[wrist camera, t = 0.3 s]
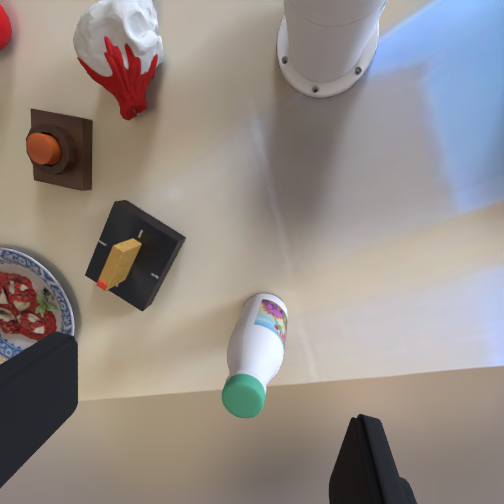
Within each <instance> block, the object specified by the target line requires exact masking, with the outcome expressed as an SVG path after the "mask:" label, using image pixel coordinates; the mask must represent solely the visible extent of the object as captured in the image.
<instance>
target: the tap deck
mask: <svg viewBox="0 0 504 504" xmlns="http://www.w3.org/2000/svg"><path fill="white" fill-rule="evenodd" d="M132 238H133V239H135V240H136V241H138V242H140V243H141V244H142V245H141V247H140V249H139V251H138V253H137V256H136V258H135V260H134V262H133V264H132V266H131V268H130V271H129V273H128V275H127V277H126V279H125V280H124V281H122V282H120V283H119V284H117V285H115V286H113V287H112V288H110V289H108V290H109V291H111V292H112V293H114V294H115V295H117V296H119V297H120V298H122V299H123V300H125V301H127V302H128V303H130V304H131V305H133V306H135V307H136V308H138V309H139V310H141V311H144V310H145V309H146V308H147V307H148V306H150V305H151V304H152V302H153V300H154V298H155V296H156V294H157V292H158V290H159V288H160V286H161V284H162V283H163V281H164V279H165V277H166V275H167V273H168V271H169V269H170V267H171V265H172V263H173V261H174V260H175V258H176V256H177V254H178V252H179V250H180V248H181V246H182V244H183V242H184V240H185V238H186V237H184V236H182V235H181V234H179V233H178V232H176V231H174V230H173V229H171V228H170V227H168V226H166V225H165V224H163V223H162V222H160V221H159V220H157V219H155V218H154V217H152V216H151V215H149V214H147V213H146V212H144V211H143V210H141V209H139V208H138V207H136V206H135V205H133V204H131V203H130V202H128V201H127V200H123V201H116V202H114V205H113V207H112V209H111V212H110V214H109V217H108V219H107V222H106V224H105V227H104V229H103V232H102V234H101V237H100V239H99V242H98V244H97V247H96V249H95V251H94V254H93V256H92V259H91V261H90V264H89V266H88V269H87V271H86V274H85V276H87V277H88V278H90V279H92V280H93V281H95V282H96V283H97V282H98V280H99V277H100V275H101V273H102V270H103V268H104V266H105V263H106V261H107V259H108V256H109V254H110V252H111V249H112V247H113V245H116V244H119V243H121V242H124V241H127V240H129V239H132Z"/></svg>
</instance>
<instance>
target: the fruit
mask: <svg viewBox="0 0 504 504" xmlns="http://www.w3.org/2000/svg"><path fill="white" fill-rule="evenodd" d="M11 33H12V29H11V24H10V21H9V18H8V16H7V14H6V12H5V11H4V9H3V7H2V6H1V5H0V50H2V49H3V48H4V47H5V46H6V45H7V43H8V41H9V39H10V37H11Z"/></svg>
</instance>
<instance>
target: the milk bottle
mask: <svg viewBox="0 0 504 504" xmlns="http://www.w3.org/2000/svg"><path fill="white" fill-rule="evenodd" d="M287 320H288V313H287V309H286V307H285V305H284V303H283V302H282V301H281V300H280V299H279V298H277V297H276V296H274V295H271V294H264V293H263V294H257V295H254V296H252V297H251V298H250V299H249V300H248V301H247V302H246V303H245V305H244V307H243V310H242V312H241V314H240V316H239V319H238V321H237V323H236V326H235V328H234V330H233V333H232V335H231V338H230V341H229V344H228V348H227V363H228V367H229V371H230V375H229V377H228V378H227V380H226V383H225V386H224V388H223V392H222V401H223V404H224V406H225V408H226V409H227V410H228V411H229V412H230V413H231V414H233V415H235V416H237V417H240V418H251V417H254V416H256V415H258V414H259V413H260V412H261V410H262V408H263V406H264V402H265V395H266V385H267V383H268V382H269V381H270V380H272V379H273V377H274V376H275V375H276V374H277V372H278V370H279V368H280V366H281V363H282V360H283V355H284V348H285V340H286V330H287Z"/></svg>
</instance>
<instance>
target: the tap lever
mask: <svg viewBox="0 0 504 504" xmlns="http://www.w3.org/2000/svg"><path fill="white" fill-rule="evenodd" d="M141 245H142V244H141V243H140V242H138V241H136V240H135V239H133V238H132V239H129V240H127V241H124V242H121V243H119V244H116V245H113V247H112V249H111V252H110V254H109V256H108V259H107V261H106V263H105V266H104V268H103V270H102V273H101V275H100V277H99V280H98V282H97V286H99V287H100V288H102V289H103V290H105V291H107V290H108V289H110V288H112V287H113V286H115V285H117V284H119V283H120V282H122V281H124V280H125V279H126V277H127V275H128V273H129V271H130V268H131V266H132V264H133V262H134V260H135V258H136V256H137V253H138V251H139V249H140V247H141Z"/></svg>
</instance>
